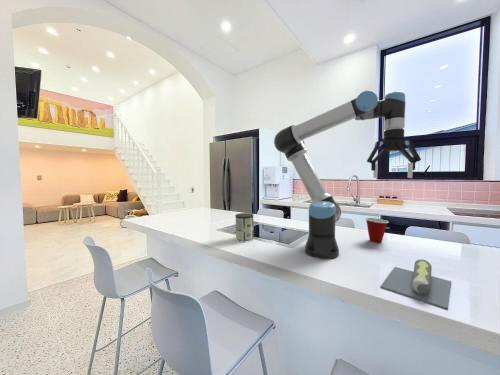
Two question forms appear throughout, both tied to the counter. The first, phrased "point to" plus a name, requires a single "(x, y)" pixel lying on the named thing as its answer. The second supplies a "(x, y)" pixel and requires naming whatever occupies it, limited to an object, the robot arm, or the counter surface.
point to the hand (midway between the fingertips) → (392, 178)
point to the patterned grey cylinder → (422, 276)
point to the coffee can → (244, 227)
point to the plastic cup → (376, 229)
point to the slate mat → (403, 283)
